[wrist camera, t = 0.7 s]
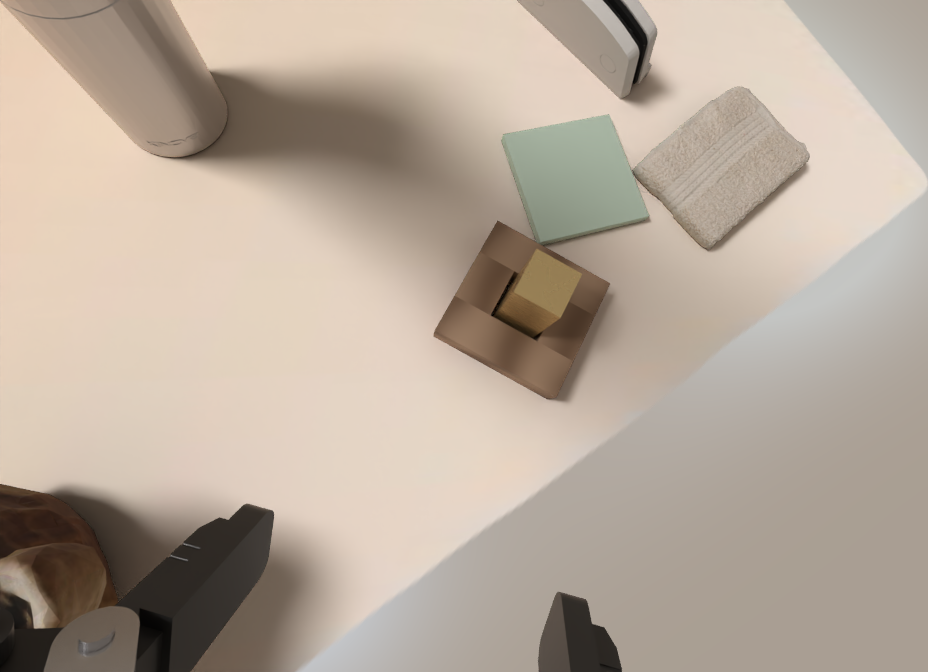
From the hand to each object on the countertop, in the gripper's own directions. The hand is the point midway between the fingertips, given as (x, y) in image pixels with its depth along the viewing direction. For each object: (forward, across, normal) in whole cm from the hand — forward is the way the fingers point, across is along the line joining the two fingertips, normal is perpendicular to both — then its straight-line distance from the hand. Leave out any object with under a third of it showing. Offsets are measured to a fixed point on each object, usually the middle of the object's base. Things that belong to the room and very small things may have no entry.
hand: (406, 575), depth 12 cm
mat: (+39, -5, -16) cm, 42 cm away
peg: (+32, -3, -2) cm, 32 cm away
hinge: (+47, -2, -31) cm, 56 cm away
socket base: (+32, -3, -2) cm, 32 cm away
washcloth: (+45, -20, -21) cm, 53 cm away
